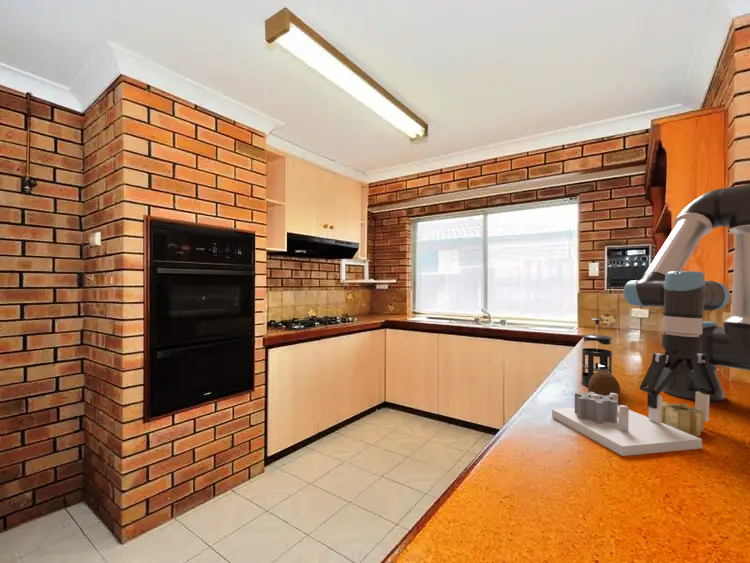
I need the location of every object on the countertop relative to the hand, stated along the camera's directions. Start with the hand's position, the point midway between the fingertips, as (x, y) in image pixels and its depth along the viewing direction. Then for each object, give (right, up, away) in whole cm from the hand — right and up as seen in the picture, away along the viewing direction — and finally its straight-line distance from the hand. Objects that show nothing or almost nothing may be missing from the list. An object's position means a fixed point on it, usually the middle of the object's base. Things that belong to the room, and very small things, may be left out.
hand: (678, 421), depth 91 cm
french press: (+3, -2, +37) cm, 37 cm away
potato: (-5, -2, +22) cm, 22 cm away
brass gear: (0, -2, 0) cm, 2 cm away
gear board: (-16, -2, -2) cm, 16 cm away
